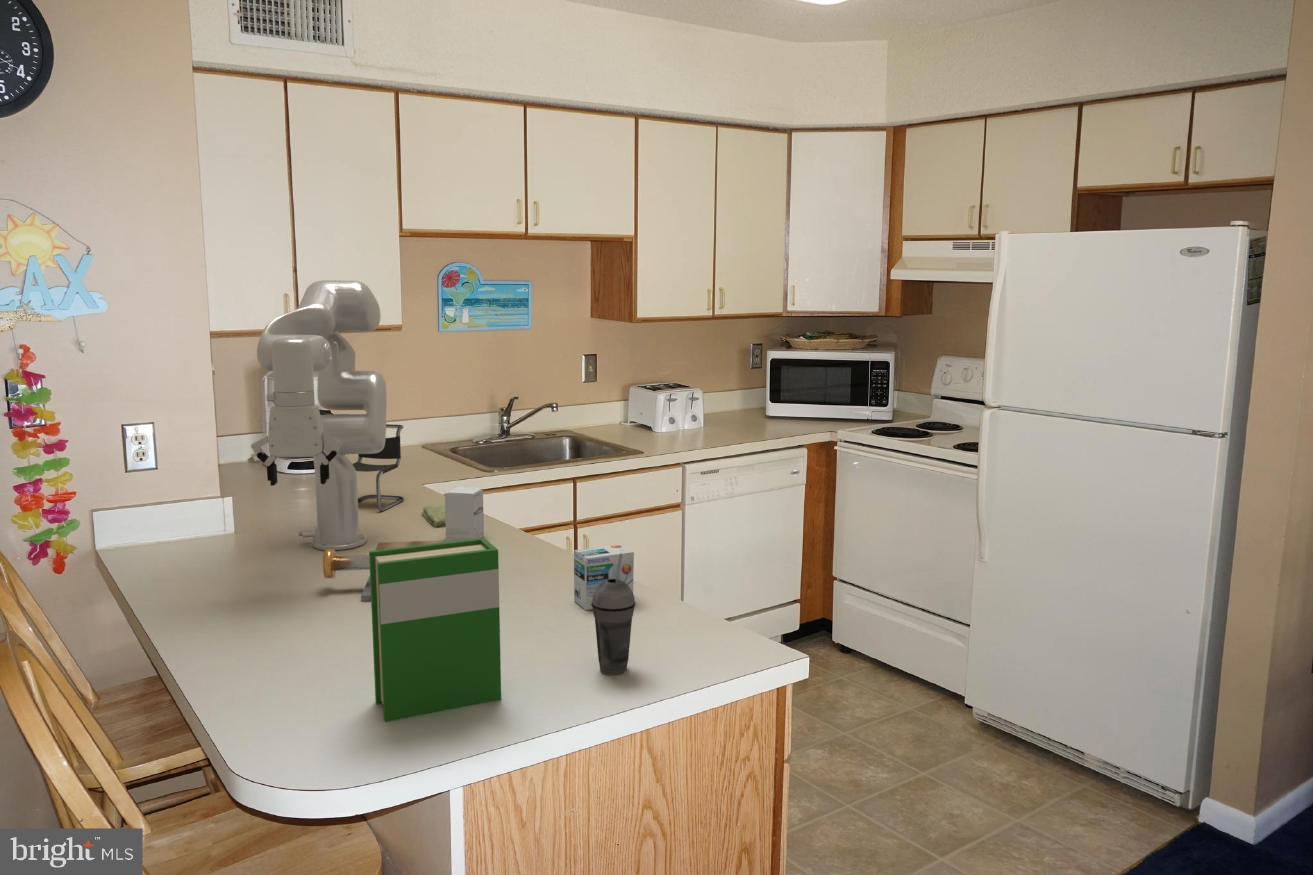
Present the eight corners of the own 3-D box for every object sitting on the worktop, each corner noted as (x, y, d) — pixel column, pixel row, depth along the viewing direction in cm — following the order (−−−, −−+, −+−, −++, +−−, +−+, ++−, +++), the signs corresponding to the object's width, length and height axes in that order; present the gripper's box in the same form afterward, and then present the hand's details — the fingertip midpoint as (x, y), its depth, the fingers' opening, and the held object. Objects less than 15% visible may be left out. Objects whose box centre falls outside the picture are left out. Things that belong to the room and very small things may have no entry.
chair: (408, 499, 282) (405, 424, 279) (380, 513, 266) (377, 434, 262) (366, 497, 285) (363, 423, 281) (336, 511, 268) (332, 432, 264)
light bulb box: (586, 611, 190) (585, 558, 188) (572, 601, 196) (572, 549, 194) (635, 603, 195) (635, 551, 193) (620, 593, 201) (620, 543, 199)
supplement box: (473, 544, 236) (472, 493, 234) (445, 542, 237) (443, 492, 235) (485, 536, 243) (483, 487, 241) (457, 534, 245) (455, 485, 242)
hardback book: (384, 722, 142) (378, 564, 138) (375, 702, 149) (369, 550, 145) (501, 699, 150) (498, 549, 146) (487, 681, 157) (484, 537, 153)
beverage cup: (591, 661, 165) (590, 547, 162) (633, 660, 166) (634, 547, 162) (591, 679, 158) (591, 560, 155) (636, 678, 158) (637, 559, 155)
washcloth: (467, 510, 271) (467, 499, 271) (481, 525, 255) (481, 513, 255) (419, 514, 266) (419, 503, 266) (431, 530, 250) (430, 518, 250)
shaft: (323, 582, 198) (322, 553, 197) (329, 573, 203) (327, 545, 202) (424, 578, 201) (423, 550, 200) (426, 569, 207) (425, 542, 206)
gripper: (244, 402, 189) (249, 488, 192) (336, 401, 192) (340, 486, 195) (253, 398, 196) (258, 481, 199) (342, 397, 199) (346, 479, 202)
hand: (299, 483), depth 197 cm, fingers open, 9 cm apart
